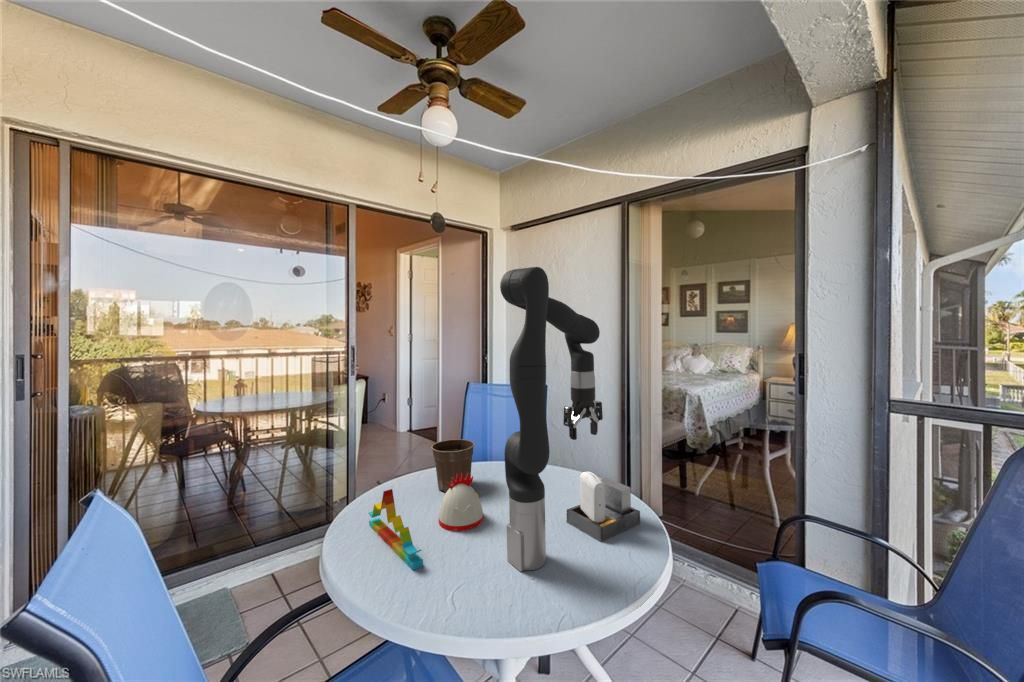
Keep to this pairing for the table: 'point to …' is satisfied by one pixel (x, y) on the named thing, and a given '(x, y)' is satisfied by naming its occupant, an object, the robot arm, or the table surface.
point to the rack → (608, 513)
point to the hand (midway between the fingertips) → (583, 436)
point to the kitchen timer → (460, 506)
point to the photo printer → (592, 496)
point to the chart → (399, 545)
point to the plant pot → (452, 460)
